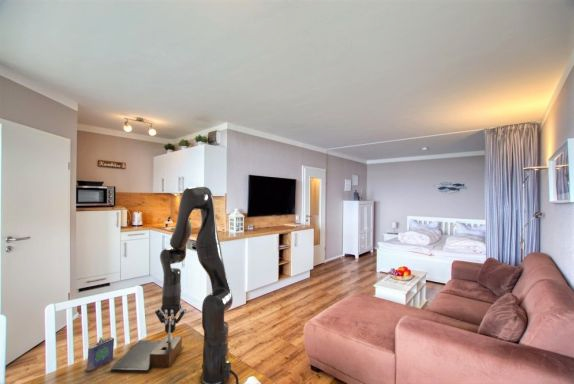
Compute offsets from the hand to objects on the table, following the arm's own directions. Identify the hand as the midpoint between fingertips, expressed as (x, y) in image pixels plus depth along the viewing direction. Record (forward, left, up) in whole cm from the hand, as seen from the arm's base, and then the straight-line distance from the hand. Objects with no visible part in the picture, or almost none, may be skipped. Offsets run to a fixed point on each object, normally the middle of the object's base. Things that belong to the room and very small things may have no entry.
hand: (170, 331), depth 113 cm
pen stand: (0, +3, -9) cm, 10 cm away
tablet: (+10, +3, -9) cm, 14 cm away
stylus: (0, 0, -8) cm, 8 cm away
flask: (+24, +9, -10) cm, 27 cm away
